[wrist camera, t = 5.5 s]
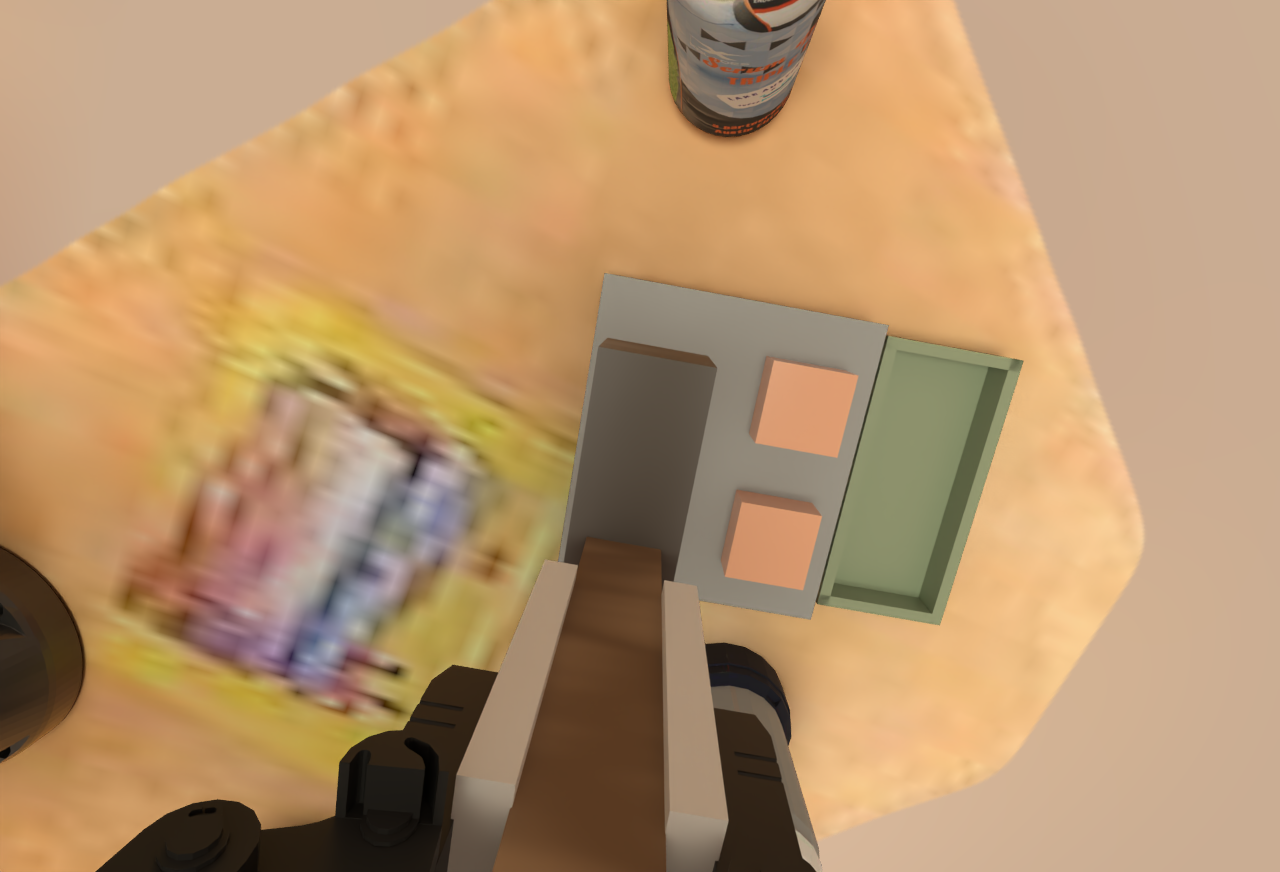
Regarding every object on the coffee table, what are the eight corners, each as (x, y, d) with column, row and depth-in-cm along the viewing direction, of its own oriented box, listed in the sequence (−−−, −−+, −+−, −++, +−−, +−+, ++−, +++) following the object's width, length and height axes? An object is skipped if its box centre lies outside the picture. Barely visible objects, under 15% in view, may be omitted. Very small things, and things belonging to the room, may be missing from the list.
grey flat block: (564, 549, 38) (555, 575, 34) (609, 274, 34) (604, 273, 31) (796, 589, 38) (810, 619, 34) (865, 321, 34) (888, 325, 31)
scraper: (549, 692, 21) (393, 1281, 9) (607, 337, 19) (502, 440, 6) (637, 707, 21) (609, 1315, 9) (708, 355, 19) (815, 496, 6)
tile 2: (748, 433, 32) (755, 442, 30) (766, 355, 31) (774, 360, 29) (826, 447, 32) (837, 457, 30) (845, 370, 31) (858, 375, 29)
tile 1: (720, 560, 34) (724, 576, 32) (736, 489, 33) (741, 502, 31) (794, 572, 34) (802, 590, 32) (812, 502, 33) (822, 516, 31)
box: (806, 583, 38) (817, 604, 35) (871, 332, 34) (888, 335, 32) (921, 603, 38) (939, 625, 35) (997, 355, 35) (1023, 360, 32)
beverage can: (698, 165, 33) (724, 95, 21) (636, 20, 31) (626, -140, 20) (812, 106, 32) (905, 1, 20) (753, -44, 30) (817, -251, 19)
